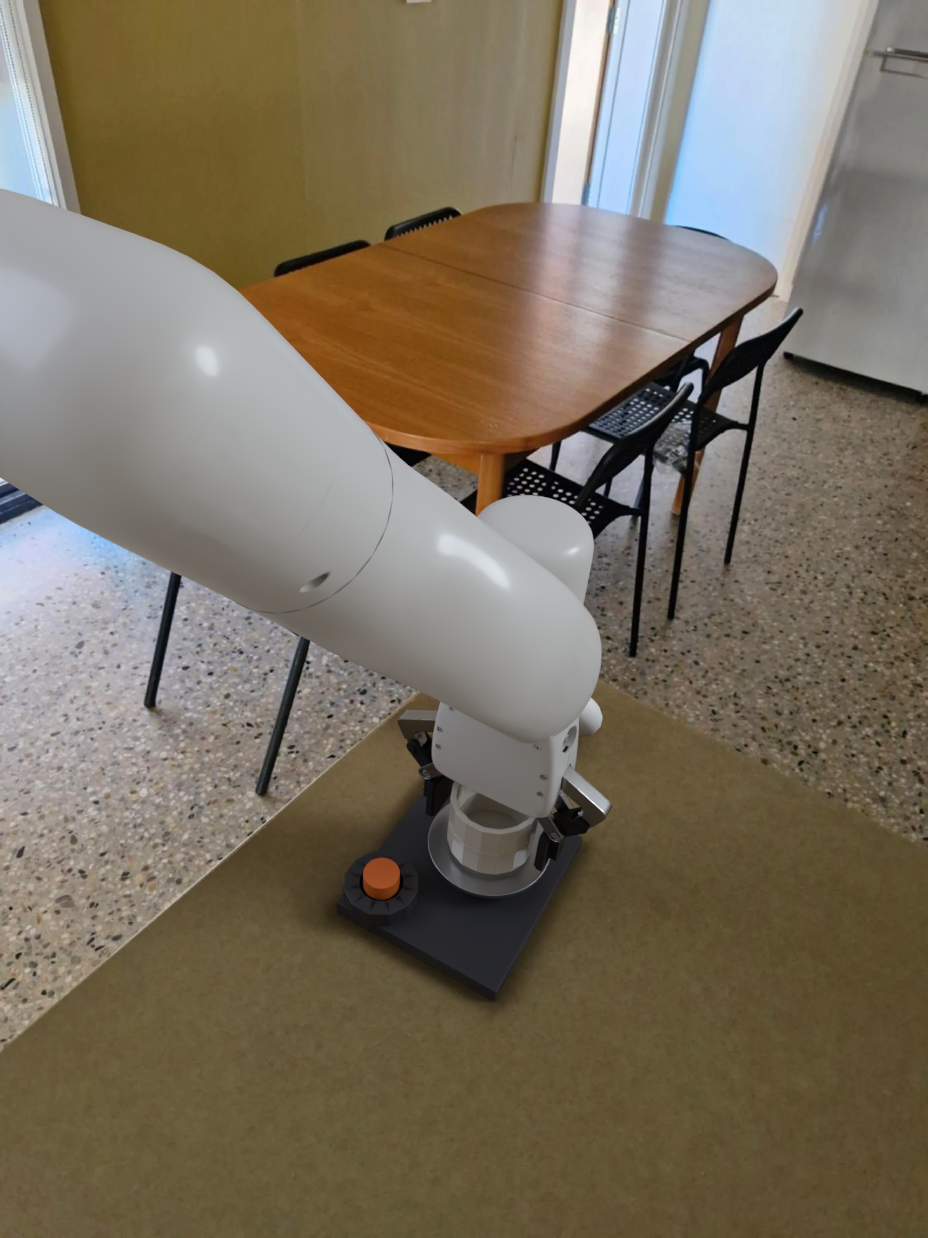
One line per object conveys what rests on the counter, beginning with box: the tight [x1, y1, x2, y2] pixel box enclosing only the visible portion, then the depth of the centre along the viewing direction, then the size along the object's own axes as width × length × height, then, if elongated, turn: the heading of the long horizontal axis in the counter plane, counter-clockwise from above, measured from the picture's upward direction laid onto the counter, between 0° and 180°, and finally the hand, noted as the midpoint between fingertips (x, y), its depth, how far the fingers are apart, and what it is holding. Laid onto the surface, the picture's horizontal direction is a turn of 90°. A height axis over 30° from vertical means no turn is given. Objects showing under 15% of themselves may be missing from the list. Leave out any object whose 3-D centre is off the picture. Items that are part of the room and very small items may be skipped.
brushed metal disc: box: [428, 803, 550, 898], centre depth 72 cm, size 10×10×1 cm
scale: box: [336, 780, 584, 1002], centre depth 72 cm, size 16×14×3 cm
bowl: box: [447, 781, 538, 875], centre depth 70 cm, size 7×7×6 cm
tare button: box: [363, 858, 400, 900], centre depth 68 cm, size 3×3×2 cm
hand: (490, 830), depth 71 cm, fingers open, 9 cm apart
